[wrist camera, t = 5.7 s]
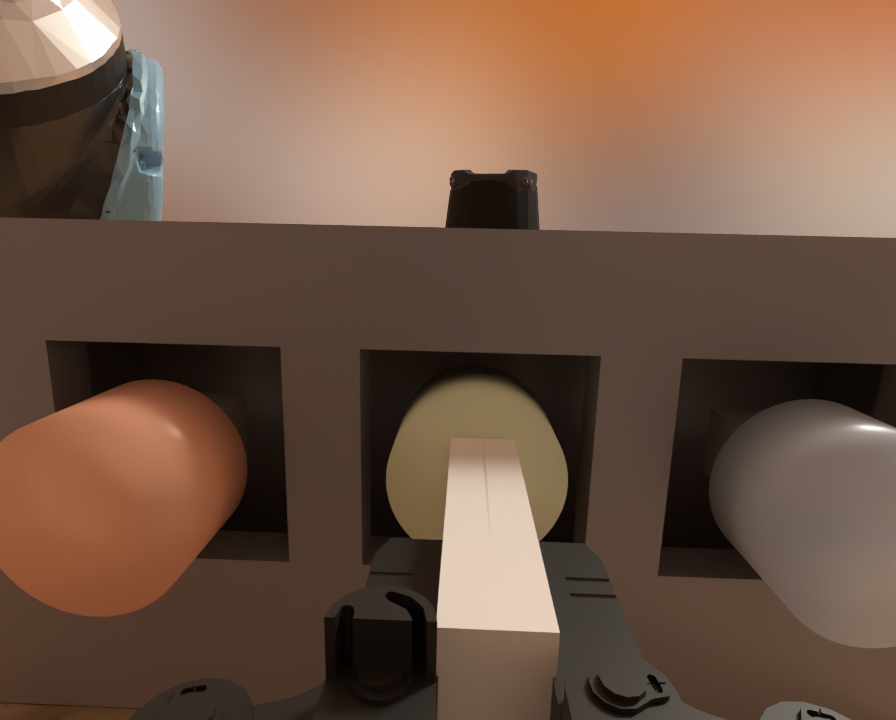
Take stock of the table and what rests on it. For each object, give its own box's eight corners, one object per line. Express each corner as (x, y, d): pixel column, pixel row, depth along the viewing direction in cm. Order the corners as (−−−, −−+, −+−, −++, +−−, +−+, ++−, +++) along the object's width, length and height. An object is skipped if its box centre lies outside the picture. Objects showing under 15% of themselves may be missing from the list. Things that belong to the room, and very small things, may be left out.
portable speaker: (479, 368, 60) (487, 180, 56) (551, 386, 54) (565, 174, 50) (420, 381, 54) (424, 171, 50) (493, 402, 48) (504, 163, 44)
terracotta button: (-7, 612, 12) (-42, 413, 11) (149, 488, 18) (136, 352, 17) (198, 620, 12) (181, 420, 11) (287, 493, 18) (282, 356, 17)
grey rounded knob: (758, 643, 11) (792, 440, 10) (659, 506, 17) (674, 367, 16) (978, 652, 11) (1032, 447, 10) (803, 511, 17) (827, 372, 16)
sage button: (385, 560, 14) (386, 392, 13) (409, 465, 20) (410, 344, 19) (561, 567, 14) (574, 397, 13) (533, 469, 20) (540, 348, 19)
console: (-6, 701, 17) (-92, 215, 14) (145, 553, 24) (111, 223, 21) (958, 745, 16) (1091, 242, 13) (795, 577, 24) (854, 240, 21)
